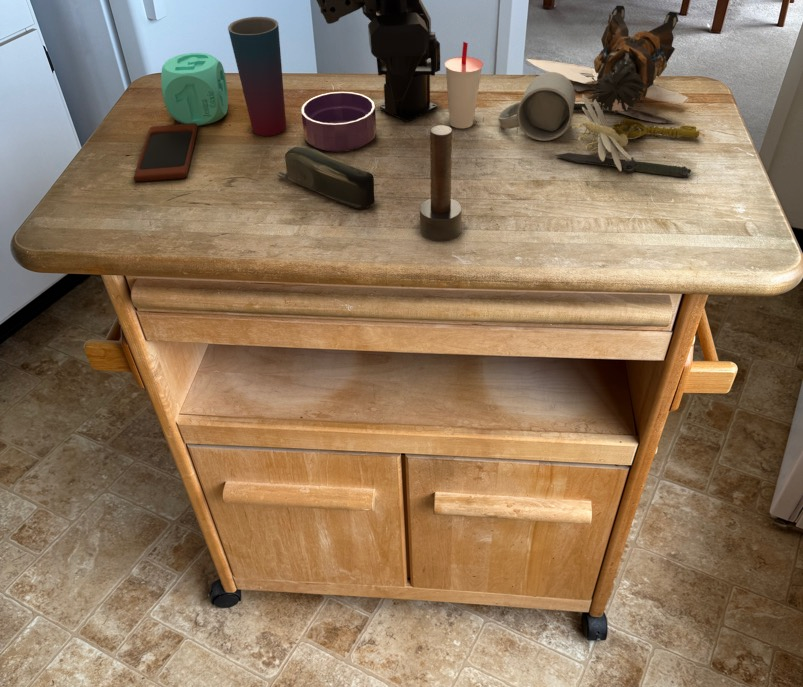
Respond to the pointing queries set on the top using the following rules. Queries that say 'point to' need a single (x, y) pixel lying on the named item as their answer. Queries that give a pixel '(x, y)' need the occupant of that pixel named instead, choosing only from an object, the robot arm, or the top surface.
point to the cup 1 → (260, 72)
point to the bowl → (339, 121)
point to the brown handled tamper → (440, 191)
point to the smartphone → (166, 152)
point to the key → (653, 130)
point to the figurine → (630, 61)
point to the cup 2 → (462, 88)
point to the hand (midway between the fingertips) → (393, 83)
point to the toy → (603, 134)
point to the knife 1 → (576, 73)
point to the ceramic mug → (542, 108)
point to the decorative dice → (194, 88)
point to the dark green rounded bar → (329, 177)
